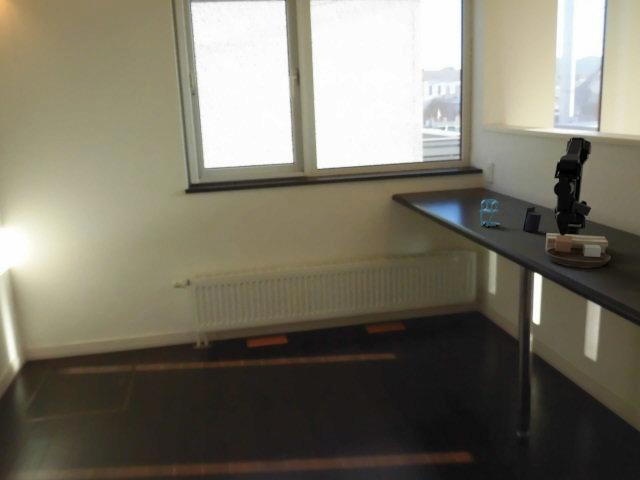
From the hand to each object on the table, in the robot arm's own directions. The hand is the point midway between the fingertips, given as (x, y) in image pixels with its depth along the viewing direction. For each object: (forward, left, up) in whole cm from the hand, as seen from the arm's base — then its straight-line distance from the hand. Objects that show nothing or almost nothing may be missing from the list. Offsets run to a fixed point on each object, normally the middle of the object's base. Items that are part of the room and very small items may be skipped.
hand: (562, 236), depth 216 cm
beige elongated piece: (-4, +5, -7) cm, 9 cm away
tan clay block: (+6, 0, 0) cm, 6 cm away
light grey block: (+9, +9, -1) cm, 13 cm away
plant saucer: (+8, +5, -7) cm, 12 cm away
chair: (-51, -28, -7) cm, 58 cm away
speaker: (-43, -9, -7) cm, 44 cm away
